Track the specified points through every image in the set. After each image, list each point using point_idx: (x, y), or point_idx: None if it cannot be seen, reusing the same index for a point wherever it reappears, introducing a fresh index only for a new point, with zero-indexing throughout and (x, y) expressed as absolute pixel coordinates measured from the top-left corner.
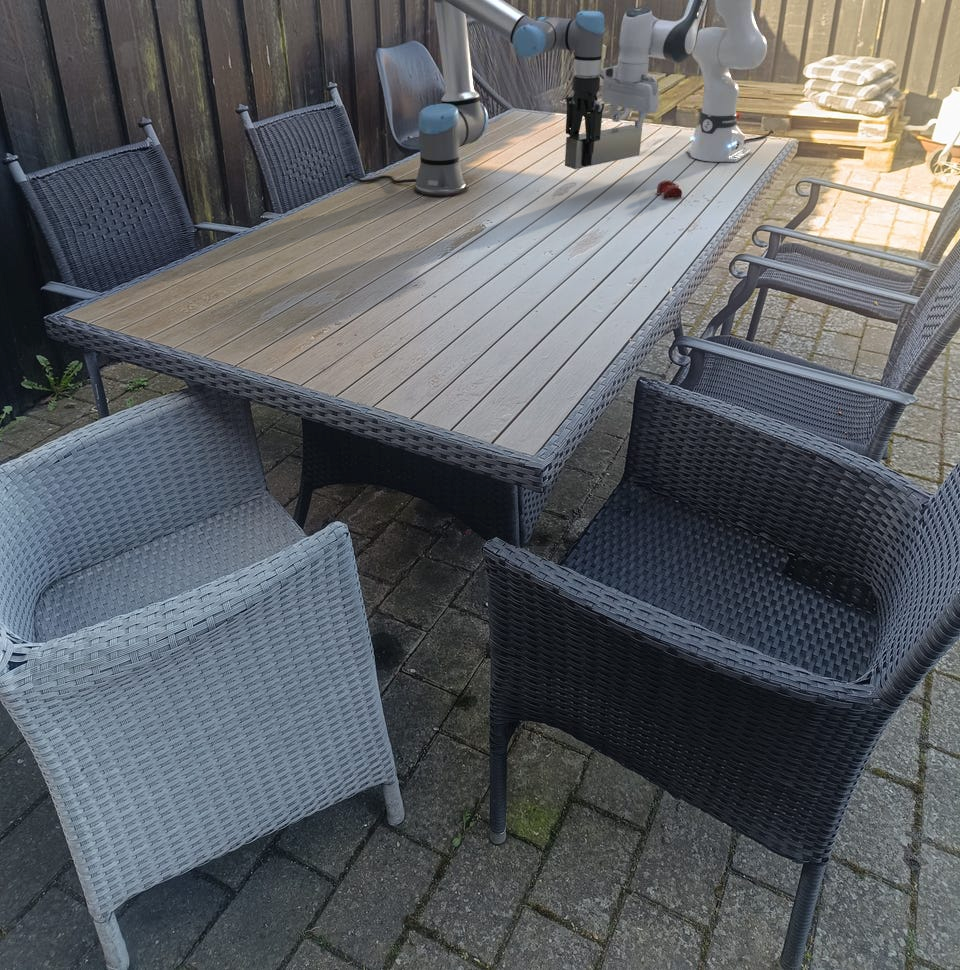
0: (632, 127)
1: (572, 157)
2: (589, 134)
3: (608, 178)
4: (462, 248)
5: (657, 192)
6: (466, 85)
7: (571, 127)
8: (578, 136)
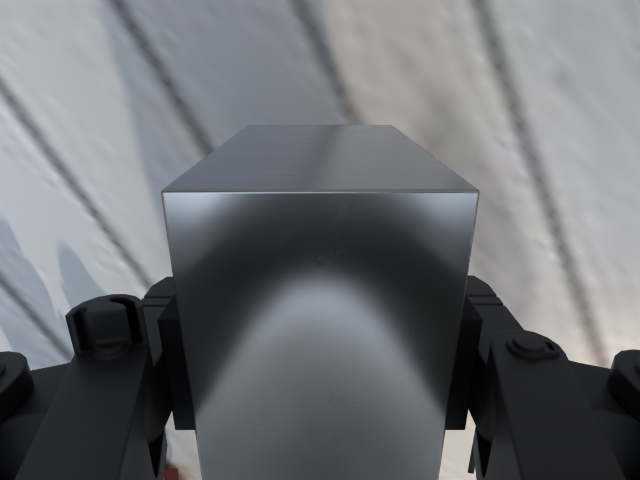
0: None
1: (288, 139)
2: (48, 435)
3: (453, 462)
4: None
5: (169, 471)
6: None
7: (604, 453)
8: (365, 373)
